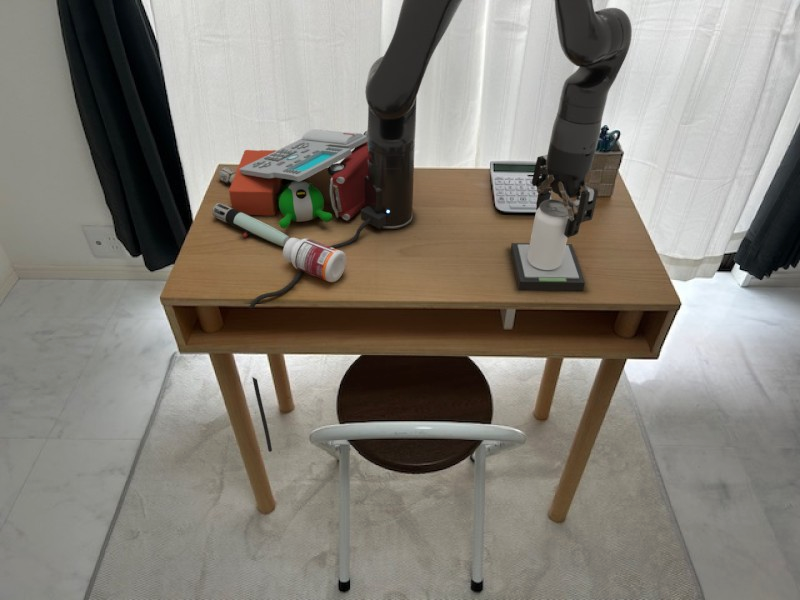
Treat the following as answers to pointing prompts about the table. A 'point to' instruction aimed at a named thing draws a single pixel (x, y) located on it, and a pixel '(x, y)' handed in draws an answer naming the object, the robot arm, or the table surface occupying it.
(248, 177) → the brick
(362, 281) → the table surface
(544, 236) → the can
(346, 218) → the toy car
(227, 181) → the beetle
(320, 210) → the toy
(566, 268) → the scale
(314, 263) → the pill bottle
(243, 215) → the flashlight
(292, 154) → the office telephone
